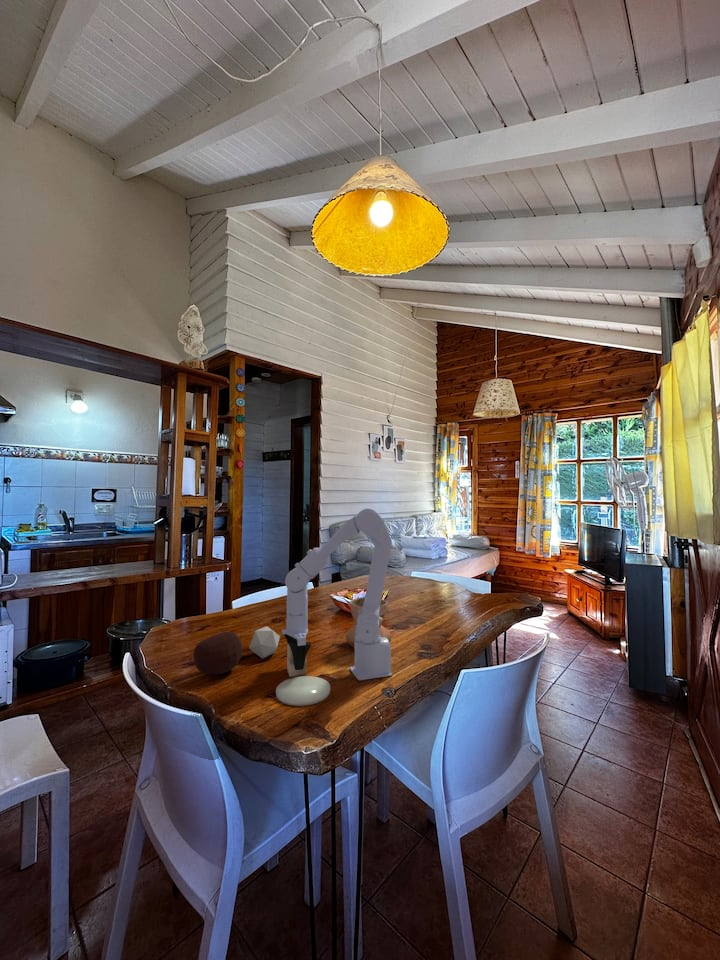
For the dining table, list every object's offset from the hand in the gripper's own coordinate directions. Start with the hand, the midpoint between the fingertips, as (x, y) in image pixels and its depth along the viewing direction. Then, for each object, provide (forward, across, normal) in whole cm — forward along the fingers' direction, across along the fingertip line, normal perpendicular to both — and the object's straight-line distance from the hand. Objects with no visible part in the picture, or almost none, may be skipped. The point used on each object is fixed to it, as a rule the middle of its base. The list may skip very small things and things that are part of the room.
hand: (296, 663), depth 108 cm
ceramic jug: (+2, -12, +25) cm, 28 cm away
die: (+2, -15, -7) cm, 17 cm away
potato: (+2, -6, -20) cm, 21 cm away
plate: (+2, +12, 0) cm, 12 cm away
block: (+2, 0, 0) cm, 2 cm away
